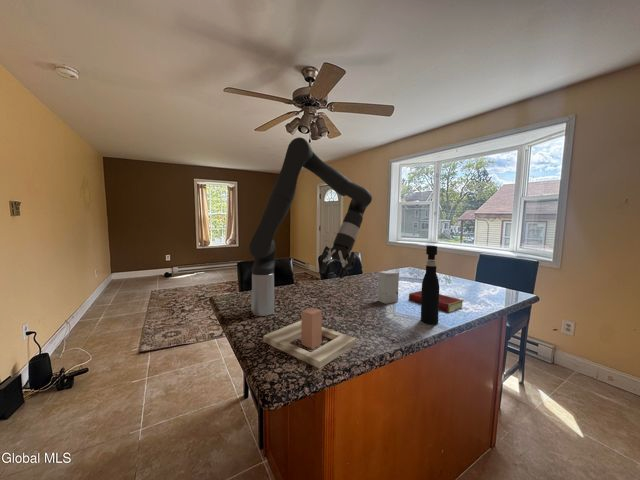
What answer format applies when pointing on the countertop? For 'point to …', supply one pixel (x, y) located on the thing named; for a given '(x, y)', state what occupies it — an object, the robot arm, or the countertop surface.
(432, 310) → the wine bottle
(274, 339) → the beige lopsided picture frame
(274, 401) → the countertop surface
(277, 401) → the countertop surface
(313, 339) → the tall salmon pink block
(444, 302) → the hardcover book
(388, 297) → the skincare box
